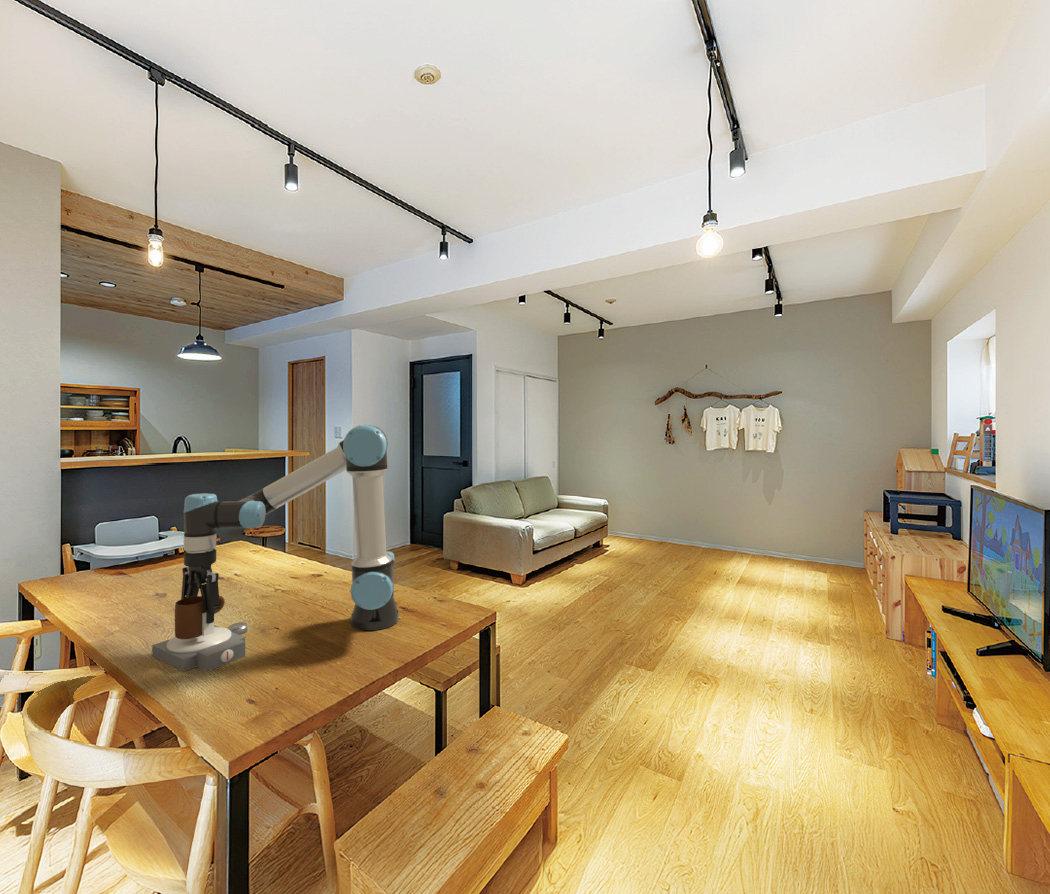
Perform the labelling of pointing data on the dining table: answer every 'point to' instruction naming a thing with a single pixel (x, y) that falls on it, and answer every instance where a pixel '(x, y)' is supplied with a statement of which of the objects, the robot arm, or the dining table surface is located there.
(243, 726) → the dining table surface
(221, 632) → the scale
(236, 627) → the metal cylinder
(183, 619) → the mug
